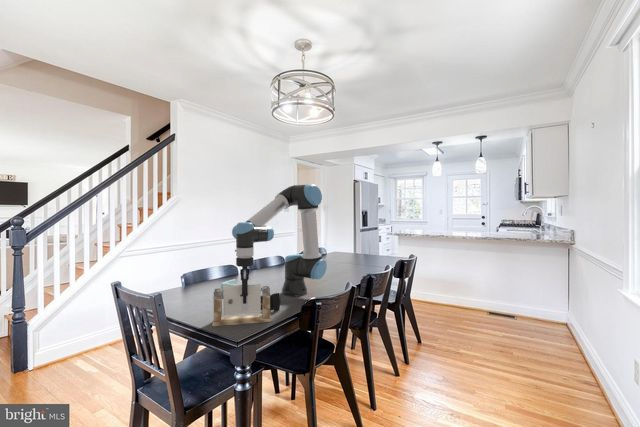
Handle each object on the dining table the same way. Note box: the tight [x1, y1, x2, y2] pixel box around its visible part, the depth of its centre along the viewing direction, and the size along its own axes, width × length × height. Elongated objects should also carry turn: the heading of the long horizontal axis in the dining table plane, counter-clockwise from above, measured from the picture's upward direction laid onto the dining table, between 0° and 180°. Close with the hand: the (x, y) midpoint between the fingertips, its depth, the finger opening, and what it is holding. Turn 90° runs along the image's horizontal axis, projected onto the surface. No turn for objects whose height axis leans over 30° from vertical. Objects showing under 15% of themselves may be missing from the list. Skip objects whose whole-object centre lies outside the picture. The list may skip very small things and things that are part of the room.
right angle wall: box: [220, 278, 237, 296], centre depth 184 cm, size 12×12×8 cm
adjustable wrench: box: [261, 292, 281, 312], centre depth 162 cm, size 8×3×25 cm
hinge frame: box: [211, 285, 272, 327], centre depth 138 cm, size 25×6×15 cm, turn 103°
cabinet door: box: [217, 283, 267, 316], centre depth 138 cm, size 22×5×12 cm, turn 103°
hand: (244, 308), depth 138 cm, fingers closed on cabinet door, 3 cm apart
